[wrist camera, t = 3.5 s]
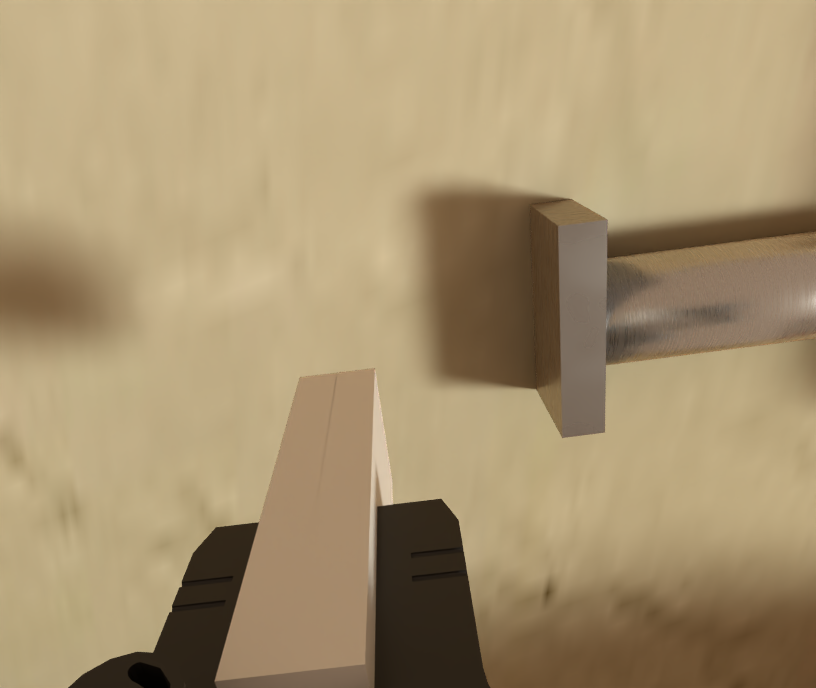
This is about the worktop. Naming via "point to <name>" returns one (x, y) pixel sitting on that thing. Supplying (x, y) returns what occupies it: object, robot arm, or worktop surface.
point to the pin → (652, 304)
